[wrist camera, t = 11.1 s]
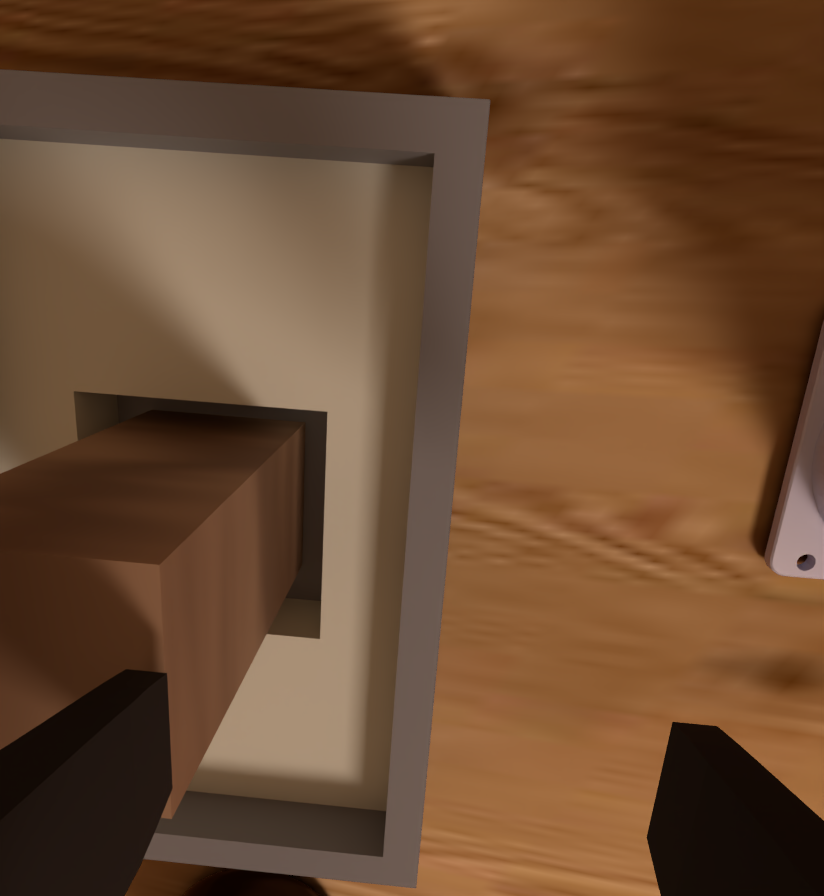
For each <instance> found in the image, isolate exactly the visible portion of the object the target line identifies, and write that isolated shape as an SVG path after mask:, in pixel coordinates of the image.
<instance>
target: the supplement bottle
mask: <svg viewBox="0 0 824 896" xmlns="http://www.w3.org/2000/svg"><path fill="white" fill-rule="evenodd" d="M183 896H320V895H319V894H318V893H317V892H316V891H314V890H313V889H312V888H310V887H309V886H307V885H306V884H304V883H302V882H301V881H299V880H297V879H295V878H293V877H290V876H288V875H285V874H278V873H269V872H260V871H250V870H241V869H229V870H225V871H221V872H218V873H215V874H212V875H210V876H207V877H206V878H204V879H202V880H200V881H199V882H197V883H196V884H194V885H193V886H192V887H191V888H189V889H188V890H187V891H186V892H185V893H184V894H183Z"/></svg>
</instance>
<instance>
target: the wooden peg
mask: <svg viewBox="0 0 824 896" xmlns="http://www.w3.org/2000/svg"><path fill="white" fill-rule="evenodd" d="M304 465H305V422H295V421H283V420H271V419H259V418H247V417H234V416H222V415H210V414H198V413H186V412H173V411H161V410H150V411H147V412H145V413H143V414H140V415H138V416H135V417H133V418H131V419H128V420H126V421H124V422H121V423H119V424H117V425H114V426H112V427H109V428H107V429H105V430H102V431H100V432H98V433H95V434H93V435H91V436H88V437H86V438H83V439H81V440H79V441H76V442H74V443H72V444H69V445H67V446H64V447H62V448H60V449H57V450H55V451H53V452H50V453H48V454H46V455H43V456H41V457H38V458H36V459H34V460H31V461H29V462H27V463H24V464H22V465H20V466H17V467H15V468H12V469H10V470H8V471H5V472H3V473H1V474H0V750H1V749H2V748H4V747H5V746H7V745H9V744H10V743H12V742H13V741H15V740H16V739H18V738H19V737H21V736H23V735H24V734H26V733H27V732H29V731H30V730H32V729H33V728H35V727H36V726H38V725H40V724H41V723H43V722H44V721H46V720H47V719H49V718H50V717H52V716H53V715H55V714H56V713H58V712H59V711H61V710H62V709H64V708H65V707H67V706H68V705H70V704H72V703H73V702H75V701H76V700H78V699H79V698H81V697H82V696H84V695H85V694H87V693H88V692H90V691H91V690H93V689H95V688H96V687H98V686H99V685H101V684H102V683H104V682H105V681H107V680H109V679H110V678H112V677H114V676H115V675H117V674H119V673H120V672H122V671H124V670H125V669H130V670H141V671H151V672H161V673H167V679H168V700H169V722H170V743H171V764H172V785H173V789H172V791H171V794H170V796H169V799H168V801H167V804H166V806H165V808H164V811H163V813H162V816H161V818H167V819H172V817H173V815H174V814H175V812H176V810H177V808H178V806H179V804H180V802H181V800H182V798H183V796H184V794H185V792H186V790H187V788H188V786H189V784H190V782H191V780H192V778H193V777H194V775H195V773H196V771H197V769H198V767H199V765H200V763H201V761H202V759H203V757H204V755H205V753H206V751H207V749H208V747H209V745H210V743H211V741H212V740H213V738H214V736H215V734H216V732H217V730H218V728H219V726H220V724H221V722H222V720H223V718H224V716H225V714H226V712H227V710H228V708H229V706H230V704H231V703H232V701H233V699H234V697H235V695H236V693H237V691H238V689H239V687H240V685H241V683H242V681H243V679H244V677H245V675H246V673H247V671H248V669H249V667H250V666H251V664H252V662H253V660H254V658H255V656H256V654H257V652H258V650H259V648H260V646H261V644H262V642H263V640H264V638H265V636H266V634H267V632H268V630H269V629H270V627H271V625H272V623H273V621H274V619H275V617H276V615H277V613H278V611H279V609H280V607H281V605H282V603H283V601H284V599H285V597H286V595H287V593H288V592H289V590H290V588H291V586H292V584H293V582H294V580H295V578H296V576H297V574H298V572H299V570H300V568H301V566H302V552H303V508H304Z"/></svg>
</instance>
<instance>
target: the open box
mask: <svg viewBox="0 0 824 896" xmlns="http://www.w3.org/2000/svg"><path fill="white" fill-rule="evenodd" d="M489 108H490V100H488V99H472V98H456V97H439V96H423V95H407V94H391V93H375V92H359V91H342V90H326V89H310V88H294V87H278V86H262V85H245V84H229V83H213V82H197V81H181V80H165V79H148V78H132V77H116V76H100V75H84V74H67V73H51V72H35V71H19V70H3V69H0V474H1V473H3V472H5V471H8V470H10V469H12V468H15V467H17V466H20V465H22V464H24V463H27V462H29V461H31V460H34V459H36V458H38V457H41V456H43V455H46V454H48V453H50V452H53V451H55V450H57V449H60V448H62V447H64V446H67V445H69V444H72V443H74V442H76V441H79V440H81V439H83V438H86V437H88V436H91V435H93V434H95V433H98V432H100V431H102V430H105V429H107V428H109V427H112V426H114V425H117V424H119V423H121V422H124V421H126V420H128V419H131V418H133V417H135V416H138V415H140V414H143V413H145V412H147V411H150V410H161V411H173V412H186V413H198V414H210V415H222V416H234V417H247V418H259V419H271V420H283V421H295V422H305V465H304V508H303V552H302V566H301V568H300V570H299V572H298V574H297V576H296V578H295V580H294V582H293V584H292V586H291V588H290V590H289V592H288V593H287V595H286V597H285V599H284V601H283V603H282V605H281V607H280V609H279V611H278V613H277V615H276V617H275V619H274V621H273V623H272V625H271V627H270V629H269V630H268V632H267V634H266V636H265V638H264V640H263V642H262V644H261V646H260V648H259V650H258V652H257V654H256V656H255V658H254V660H253V662H252V664H251V666H250V667H249V669H248V671H247V673H246V675H245V677H244V679H243V681H242V683H241V685H240V687H239V689H238V691H237V693H236V695H235V697H234V699H233V701H232V703H231V704H230V706H229V708H228V710H227V712H226V714H225V716H224V718H223V720H222V722H221V724H220V726H219V728H218V730H217V732H216V734H215V736H214V738H213V740H212V741H211V743H210V745H209V747H208V749H207V751H206V753H205V755H204V757H203V759H202V761H201V763H200V765H199V767H198V769H197V771H196V773H195V775H194V777H193V778H192V780H191V782H190V784H189V786H188V788H187V790H186V792H185V794H184V796H183V798H182V800H181V802H180V804H179V806H178V808H177V810H176V812H175V814H174V815H173V817H172V819H167V818H160V821H159V823H158V826H157V828H156V831H155V833H154V835H153V838H152V840H151V842H150V844H149V847H148V849H147V851H146V854H145V856H144V858H143V859H148V860H158V861H167V862H176V863H186V864H195V865H204V866H213V867H223V868H232V869H241V870H250V871H260V872H269V873H278V874H288V875H297V876H306V877H315V878H325V879H334V880H343V881H352V882H362V883H371V884H380V885H390V886H399V887H408V888H416V884H417V873H418V863H419V852H420V841H421V831H422V820H423V809H424V799H425V788H426V778H427V767H428V756H429V746H430V735H431V725H432V714H433V703H434V693H435V682H436V671H437V661H438V650H439V640H440V629H441V618H442V608H443V597H444V586H445V576H446V565H447V555H448V544H449V533H450V523H451V512H452V501H453V491H454V480H455V470H456V459H457V448H458V438H459V427H460V416H461V406H462V395H463V385H464V374H465V363H466V353H467V342H468V332H469V321H470V310H471V300H472V289H473V278H474V268H475V257H476V247H477V236H478V225H479V215H480V204H481V193H482V183H483V172H484V162H485V151H486V140H487V130H488V119H489Z"/></svg>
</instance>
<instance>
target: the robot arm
mask: <svg viewBox="0 0 824 896" xmlns="http://www.w3.org/2000/svg"><path fill="white" fill-rule="evenodd" d="M806 554H807V556H808V557H807V559H806V561H805V562H803V563H802V564H798V565H797V560H798V559H799V557H801V556H802V555H806ZM765 562H766V564H767V566H768V567H769V568H771V569H772V570H773V571H774V572H775V573H777V574H779V575H782V576H791V577H803V578H814V579H824V321H823V325H822V329H821V333H820V337H819V341H818V345H817V349H816V353H815V357H814V361H813V364H812V368H811V372H810V376H809V380H808V384H807V388H806V392H805V396H804V400H803V404H802V408H801V412H800V416H799V420H798V424H797V428H796V432H795V436H794V440H793V444H792V448H791V452H790V456H789V460H788V464H787V468H786V472H785V476H784V480H783V484H782V488H781V492H780V496H779V500H778V504H777V508H776V512H775V516H774V520H773V524H772V528H771V532H770V536H769V540H768V544H767V548H766V552H765ZM172 789H173V785H172V764H171V743H170V722H169V700H168V679H167V673H161V672H151V671H141V670H130V669H125V670H124V671H122V672H120V673H119V674H117V675H115V676H114V677H112V678H110V679H109V680H107V681H105V682H104V683H102V684H101V685H99V686H98V687H96V688H95V689H93V690H91V691H90V692H88V693H87V694H85V695H84V696H82V697H81V698H79V699H78V700H76V701H75V702H73V703H72V704H70V705H68V706H67V707H65V708H64V709H62V710H61V711H59V712H58V713H56V714H55V715H53V716H52V717H50V718H49V719H47V720H46V721H44V722H43V723H41V724H40V725H38V726H36V727H35V728H33V729H32V730H30V731H29V732H27V733H26V734H24V735H23V736H21V737H19V738H18V739H16V740H15V741H13V742H12V743H10V744H9V745H7V746H5V747H4V748H2V749H1V750H0V896H124V895H125V893H126V892H127V890H128V888H129V886H130V884H131V882H132V880H133V879H134V877H135V875H136V873H137V871H138V869H139V867H140V865H141V863H142V861H143V858H144V856H145V854H146V851H147V849H148V847H149V844H150V842H151V840H152V838H153V835H154V833H155V831H156V828H157V826H158V823H159V821H160V818H161V816H162V813H163V811H164V808H165V806H166V804H167V801H168V799H169V796H170V794H171V791H172ZM647 840H648V845H649V849H650V853H651V857H652V861H653V865H654V870H655V874H656V878H657V882H658V886H659V890H660V894H661V896H824V821H823V820H822V819H821V818H820V817H819V816H818V815H817V814H815V813H814V812H813V811H812V810H811V809H810V808H809V807H808V806H807V805H805V804H804V803H803V802H802V801H801V800H800V799H799V798H798V797H797V796H796V795H794V794H793V793H792V792H791V791H790V790H789V789H788V788H787V787H786V786H784V785H783V784H782V783H781V782H780V781H779V780H778V779H777V778H776V777H774V776H773V775H772V774H771V773H770V772H769V771H768V770H767V769H766V768H765V767H763V766H762V765H761V764H760V763H759V762H758V761H757V760H756V759H755V758H753V757H752V756H751V755H750V754H749V753H748V752H747V751H746V750H744V749H743V748H742V747H741V746H740V745H739V744H738V743H736V742H735V741H734V740H733V739H732V738H731V737H729V736H728V735H727V734H726V733H725V732H723V731H722V730H721V729H720V728H719V727H717V726H709V725H699V724H689V723H678V722H673V723H672V727H671V732H670V736H669V741H668V745H667V749H666V754H665V758H664V763H663V767H662V772H661V776H660V781H659V785H658V790H657V794H656V799H655V803H654V807H653V812H652V816H651V821H650V825H649V830H648V834H647Z"/></svg>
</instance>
